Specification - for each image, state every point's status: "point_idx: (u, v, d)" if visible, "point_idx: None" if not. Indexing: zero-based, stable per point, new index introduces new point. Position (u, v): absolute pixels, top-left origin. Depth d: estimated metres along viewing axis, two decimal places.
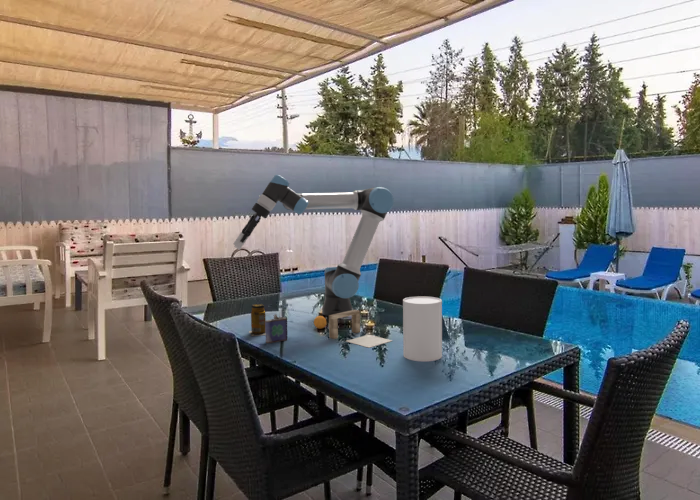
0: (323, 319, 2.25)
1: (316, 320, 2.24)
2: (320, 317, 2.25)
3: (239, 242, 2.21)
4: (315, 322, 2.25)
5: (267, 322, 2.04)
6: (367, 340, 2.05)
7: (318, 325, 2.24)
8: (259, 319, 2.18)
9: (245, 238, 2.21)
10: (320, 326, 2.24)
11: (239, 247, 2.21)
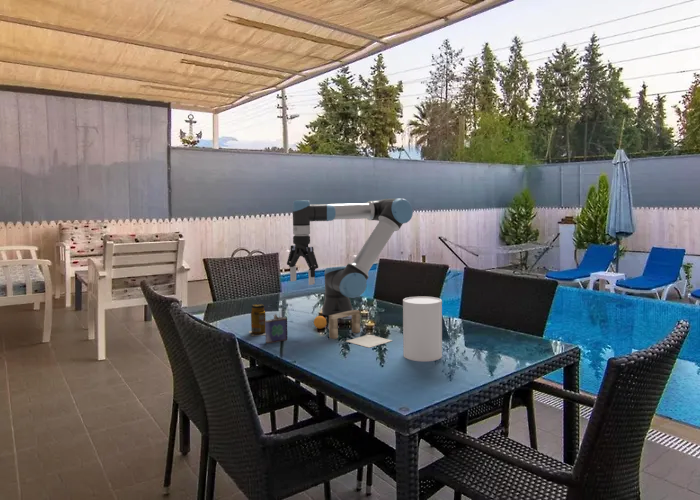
0: (323, 319, 2.25)
1: (316, 320, 2.24)
2: (320, 317, 2.25)
3: (311, 278, 2.26)
4: (315, 322, 2.25)
5: (267, 322, 2.04)
6: (367, 340, 2.05)
7: (318, 325, 2.24)
8: (259, 319, 2.18)
9: (314, 272, 2.26)
10: (320, 326, 2.24)
11: (313, 282, 2.27)
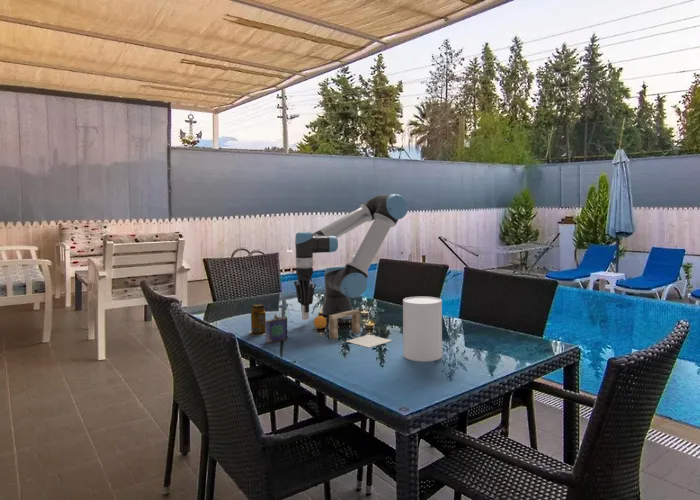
0: (323, 319, 2.25)
1: (316, 320, 2.24)
2: (320, 317, 2.25)
3: (305, 313, 2.33)
4: (315, 322, 2.25)
5: (267, 322, 2.04)
6: (367, 340, 2.05)
7: (318, 325, 2.24)
8: (259, 319, 2.18)
9: (308, 307, 2.32)
10: (320, 326, 2.24)
11: (307, 317, 2.33)
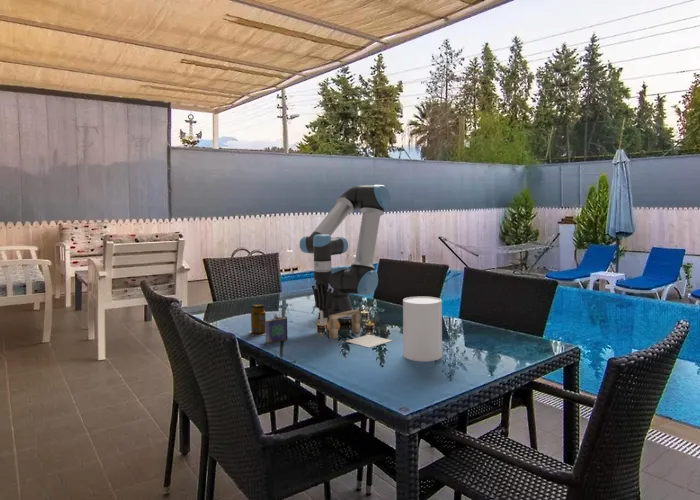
0: None
1: (328, 329, 2.18)
2: None
3: (324, 319, 2.23)
4: (328, 327, 2.18)
5: (267, 322, 2.04)
6: (367, 340, 2.05)
7: (327, 324, 2.19)
8: (259, 319, 2.18)
9: (327, 312, 2.23)
10: (328, 322, 2.20)
11: (326, 322, 2.24)
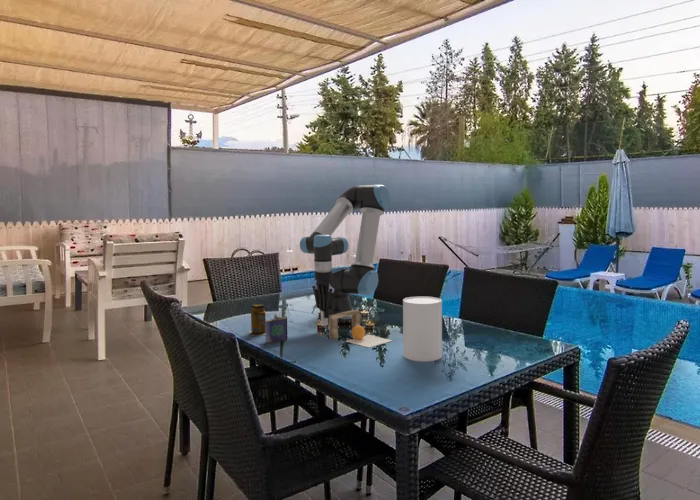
0: None
1: (354, 336, 2.06)
2: None
3: (324, 319, 2.23)
4: (353, 334, 2.06)
5: (267, 322, 2.04)
6: (367, 340, 2.05)
7: None
8: (259, 319, 2.18)
9: (328, 313, 2.23)
10: None
11: (326, 323, 2.24)
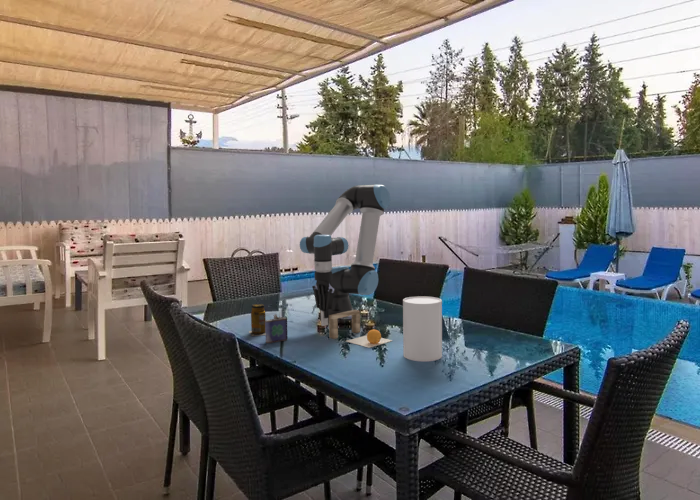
0: (376, 331, 2.00)
1: (369, 334, 1.99)
2: (372, 330, 2.00)
3: (324, 319, 2.23)
4: (369, 337, 1.99)
5: (267, 322, 2.04)
6: (367, 340, 2.05)
7: (373, 338, 1.98)
8: (259, 319, 2.18)
9: (328, 313, 2.23)
10: (375, 339, 1.98)
11: (326, 323, 2.24)
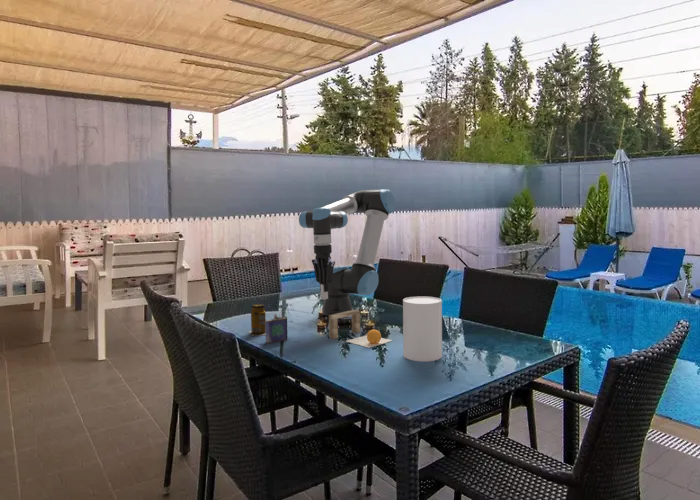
0: (376, 331, 2.00)
1: (369, 334, 1.99)
2: (372, 330, 2.00)
3: (324, 293, 2.22)
4: (369, 337, 1.99)
5: (267, 322, 2.04)
6: (367, 340, 2.05)
7: (373, 338, 1.98)
8: (259, 319, 2.18)
9: (328, 286, 2.22)
10: (375, 339, 1.98)
11: (326, 296, 2.23)
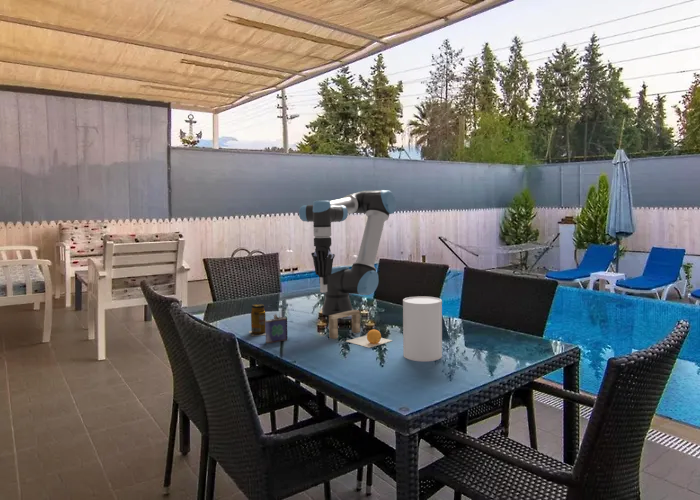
0: (376, 331, 2.00)
1: (369, 334, 1.99)
2: (372, 330, 2.00)
3: (323, 286, 2.22)
4: (369, 337, 1.99)
5: (267, 322, 2.04)
6: (367, 340, 2.05)
7: (373, 338, 1.98)
8: (259, 319, 2.18)
9: (327, 279, 2.21)
10: (375, 339, 1.98)
11: (326, 289, 2.23)
